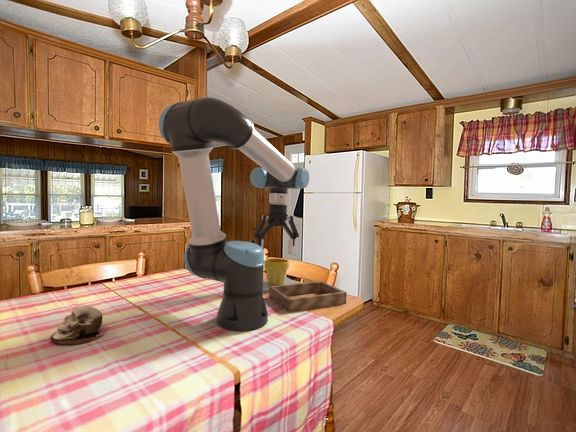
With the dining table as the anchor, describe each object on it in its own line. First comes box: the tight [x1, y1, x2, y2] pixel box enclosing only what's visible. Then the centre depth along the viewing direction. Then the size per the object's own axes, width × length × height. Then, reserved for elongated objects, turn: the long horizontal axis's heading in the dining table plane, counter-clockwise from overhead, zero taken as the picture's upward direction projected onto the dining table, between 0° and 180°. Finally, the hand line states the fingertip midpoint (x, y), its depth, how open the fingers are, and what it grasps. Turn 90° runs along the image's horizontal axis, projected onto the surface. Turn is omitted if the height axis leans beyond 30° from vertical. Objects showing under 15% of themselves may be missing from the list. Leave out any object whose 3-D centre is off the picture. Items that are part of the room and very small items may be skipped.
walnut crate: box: [268, 280, 348, 313], centre depth 114 cm, size 23×16×4 cm
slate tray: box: [263, 276, 298, 294], centre depth 132 cm, size 18×15×1 cm
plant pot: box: [264, 257, 290, 285], centre depth 131 cm, size 10×10×10 cm
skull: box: [50, 304, 106, 346], centre depth 81 cm, size 12×10×10 cm
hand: (275, 254), depth 131 cm, fingers open, 13 cm apart
